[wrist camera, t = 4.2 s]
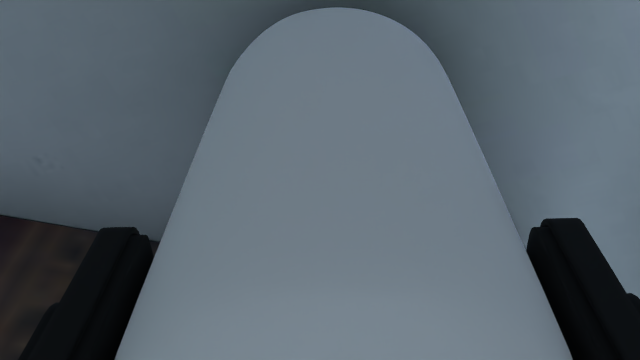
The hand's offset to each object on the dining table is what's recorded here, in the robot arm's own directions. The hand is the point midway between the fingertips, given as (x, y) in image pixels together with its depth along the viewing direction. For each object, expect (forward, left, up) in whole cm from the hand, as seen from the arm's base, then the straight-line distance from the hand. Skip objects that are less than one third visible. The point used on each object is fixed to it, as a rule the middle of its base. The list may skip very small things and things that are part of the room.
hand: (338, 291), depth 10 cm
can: (0, 0, -7) cm, 7 cm away
